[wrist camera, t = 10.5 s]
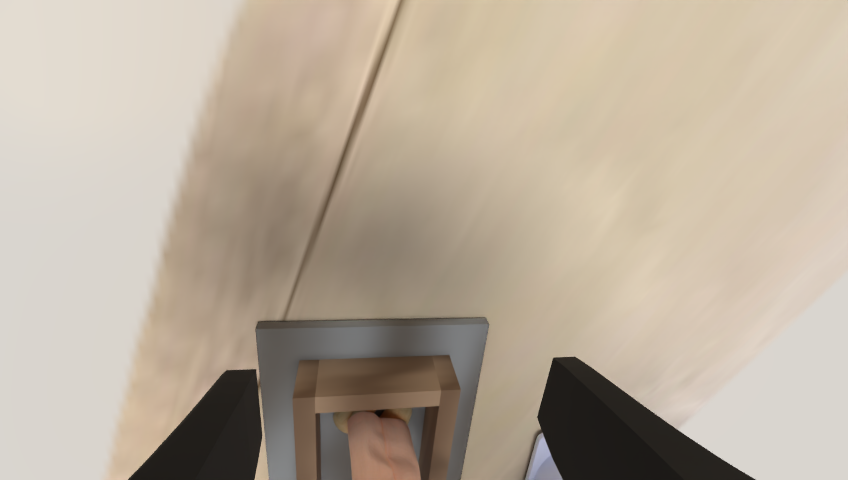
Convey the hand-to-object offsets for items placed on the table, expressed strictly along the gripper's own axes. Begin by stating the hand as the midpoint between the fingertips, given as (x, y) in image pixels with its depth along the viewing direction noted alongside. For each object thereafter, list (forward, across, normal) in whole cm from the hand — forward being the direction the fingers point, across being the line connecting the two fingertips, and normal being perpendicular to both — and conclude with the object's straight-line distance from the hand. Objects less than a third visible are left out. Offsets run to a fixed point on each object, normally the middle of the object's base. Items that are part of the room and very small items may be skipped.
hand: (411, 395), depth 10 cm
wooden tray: (+10, 0, +13) cm, 17 cm away
